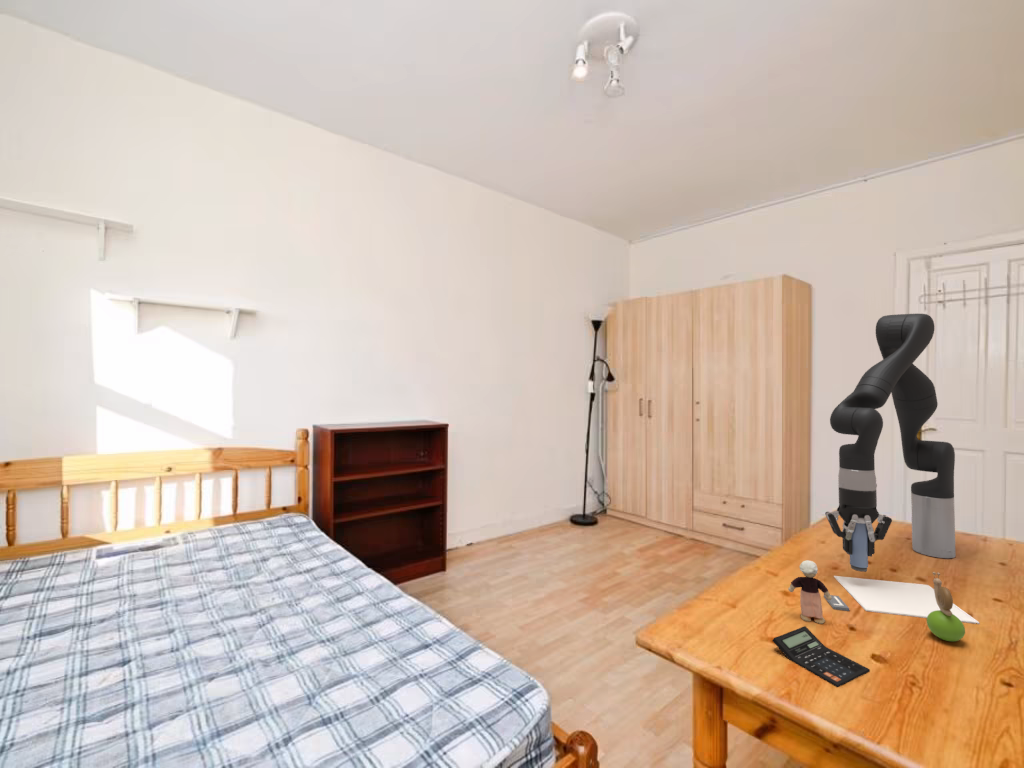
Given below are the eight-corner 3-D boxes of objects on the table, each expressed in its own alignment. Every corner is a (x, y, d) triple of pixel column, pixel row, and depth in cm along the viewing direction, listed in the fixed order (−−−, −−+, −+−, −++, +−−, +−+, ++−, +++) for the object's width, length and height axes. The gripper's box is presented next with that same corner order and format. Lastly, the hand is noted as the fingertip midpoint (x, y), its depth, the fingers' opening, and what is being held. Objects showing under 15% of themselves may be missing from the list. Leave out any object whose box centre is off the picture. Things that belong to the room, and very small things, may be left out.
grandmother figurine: (827, 617, 96) (826, 559, 96) (833, 626, 92) (832, 566, 92) (787, 611, 98) (785, 555, 98) (791, 620, 95) (790, 562, 95)
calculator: (837, 690, 74) (837, 672, 74) (772, 652, 85) (772, 636, 85) (869, 673, 78) (869, 657, 78) (803, 639, 88) (803, 624, 88)
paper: (833, 576, 115) (833, 575, 115) (927, 586, 109) (927, 584, 109) (865, 610, 98) (865, 609, 98) (979, 624, 92) (979, 622, 92)
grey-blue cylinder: (847, 565, 112) (846, 513, 112) (864, 566, 111) (863, 515, 111) (853, 571, 109) (852, 518, 109) (871, 572, 108) (870, 519, 108)
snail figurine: (954, 632, 89) (953, 573, 89) (971, 650, 83) (969, 587, 83) (920, 626, 91) (918, 569, 91) (934, 643, 86) (932, 582, 86)
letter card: (823, 596, 105) (823, 593, 105) (838, 598, 104) (838, 595, 104) (833, 609, 99) (833, 606, 99) (849, 611, 98) (849, 607, 98)
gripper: (883, 484, 112) (884, 552, 111) (818, 481, 116) (820, 546, 116) (899, 491, 104) (900, 563, 104) (830, 488, 109) (831, 557, 108)
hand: (858, 554), depth 110 cm, fingers closed on grey-blue cylinder, 3 cm apart
